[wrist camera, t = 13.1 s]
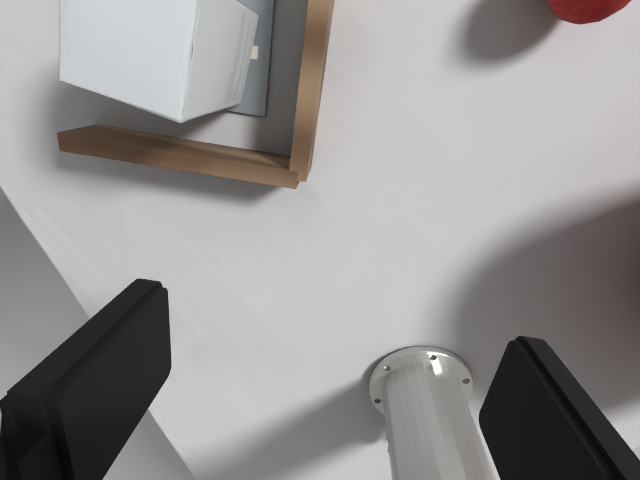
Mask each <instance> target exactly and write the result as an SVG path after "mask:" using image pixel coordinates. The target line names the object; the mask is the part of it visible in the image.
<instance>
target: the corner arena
mask: <svg viewBox="0 0 640 480" xmlns="http://www.w3.org/2000/svg"><path fill="white" fill-rule="evenodd" d="M333 6H334V0H308V7H307V16H306V24H305V33H304V42H303V51H302V60H301V69H300V78H299V87H298V95H297V104H296V113H295V122H294V131H293V140H292V149H291V157H290V156H284V155H278V154H272V153H266V152H260V151H253V150H247V149H241V148H235V147H229V146H223V145H217V144H210V143H204V142H198V141H192V140H186V139H180V138H174V137H168V136H161V135H155V134H149V133H143V132H137V131H131V130H125V129H118V128H112V127H106V126H100V125H92V126H87V127H82V128H77V129H72V130H67V131H62V132H57V135H58V142H59V148H60V151H64V152H70V153H77V154H83V155H89V156H95V157H101V158H107V159H113V160H120V161H126V162H132V163H138V164H144V165H150V166H157V167H163V168H169V169H175V170H181V171H187V172H194V173H200V174H206V175H212V176H218V177H224V178H231V179H237V180H243V181H249V182H255V183H261V184H268V185H274V186H280V187H286V188H292V189H296V188H297V185H298V183H299V181H303V182H306V180H307V177H308V175H309V172H310V169H311V164H312V157H313V150H314V142H315V135H316V128H317V121H318V114H319V106H320V99H321V92H322V85H323V78H324V71H325V63H326V56H327V49H328V42H329V35H330V27H331V20H332V13H333Z"/></svg>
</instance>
